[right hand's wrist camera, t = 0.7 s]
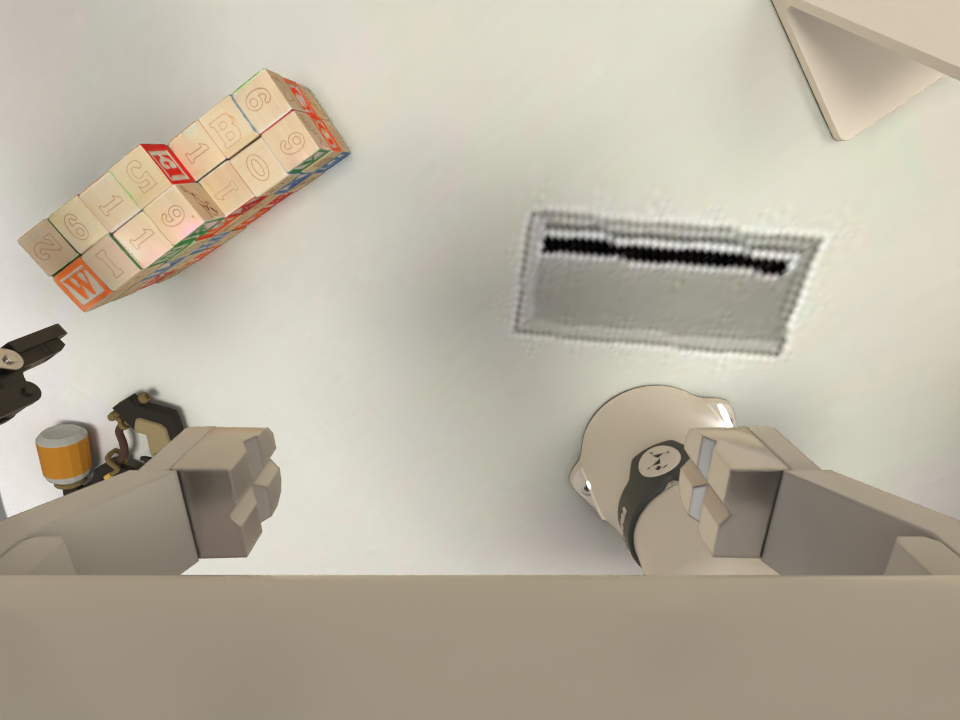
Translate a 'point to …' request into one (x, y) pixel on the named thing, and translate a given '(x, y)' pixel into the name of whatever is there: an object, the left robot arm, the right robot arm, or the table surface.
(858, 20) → the tablet stand
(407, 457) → the table surface
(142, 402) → the spray gun
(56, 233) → the stack of blocks
